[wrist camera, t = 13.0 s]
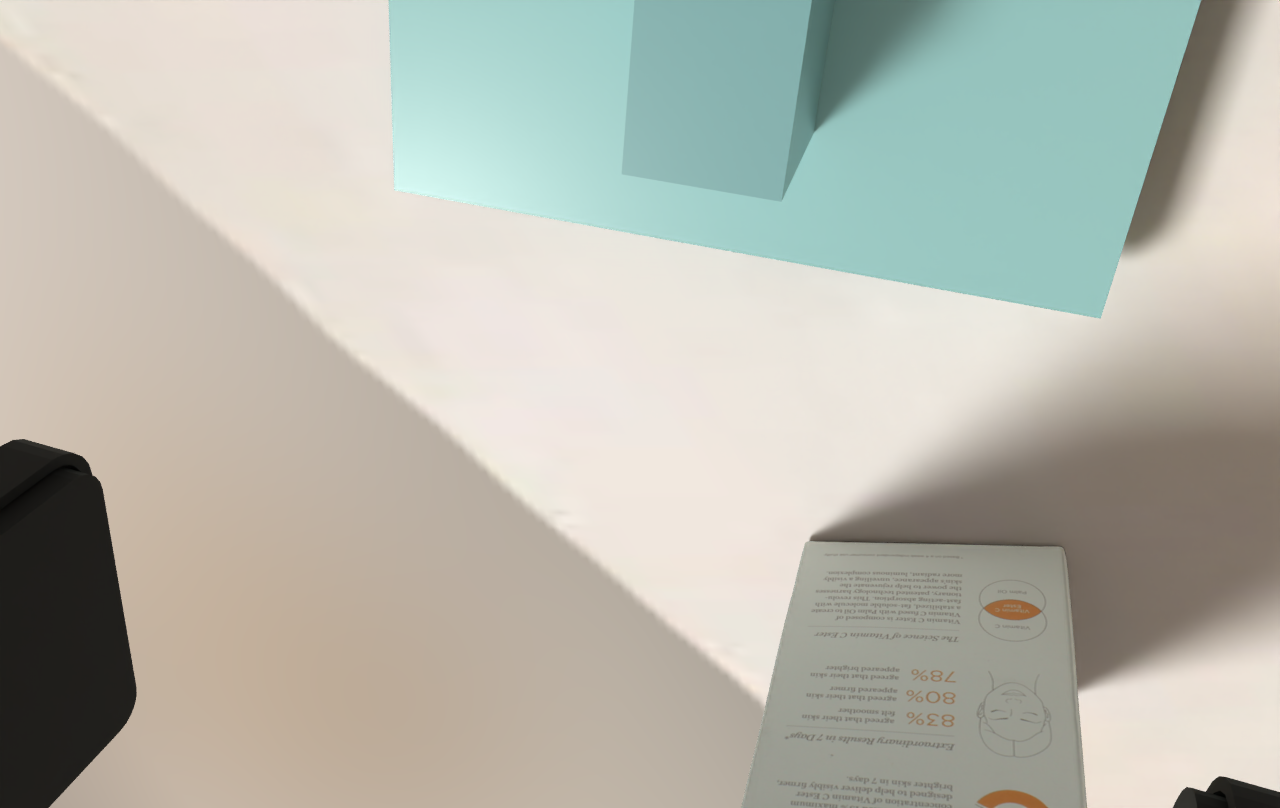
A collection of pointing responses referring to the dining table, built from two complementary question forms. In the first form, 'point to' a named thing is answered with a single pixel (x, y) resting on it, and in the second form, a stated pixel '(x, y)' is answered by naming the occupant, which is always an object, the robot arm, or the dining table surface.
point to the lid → (805, 127)
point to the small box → (923, 682)
